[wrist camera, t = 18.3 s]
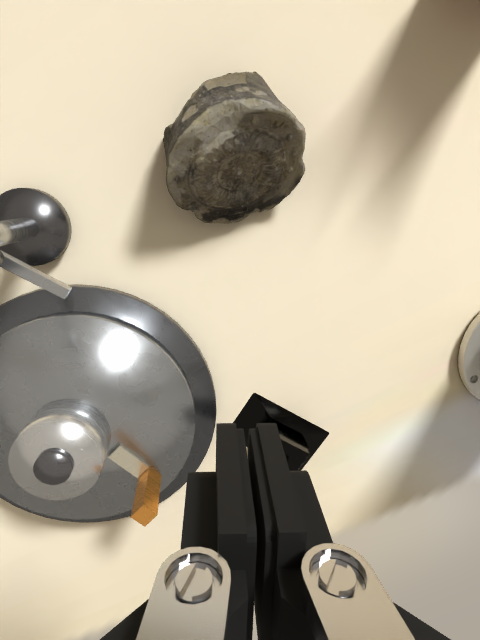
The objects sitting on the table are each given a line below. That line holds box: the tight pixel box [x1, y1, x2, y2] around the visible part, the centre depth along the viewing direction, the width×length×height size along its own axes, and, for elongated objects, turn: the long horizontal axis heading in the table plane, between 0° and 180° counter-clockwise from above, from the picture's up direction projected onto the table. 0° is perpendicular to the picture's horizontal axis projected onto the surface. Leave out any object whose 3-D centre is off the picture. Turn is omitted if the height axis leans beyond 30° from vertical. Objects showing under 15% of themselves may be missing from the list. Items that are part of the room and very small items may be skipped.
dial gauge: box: [0, 188, 72, 299], centre depth 27 cm, size 9×6×14 cm, turn 59°
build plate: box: [233, 393, 329, 471], centre depth 40 cm, size 12×7×5 cm, turn 57°
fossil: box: [163, 72, 305, 223], centre depth 30 cm, size 11×9×10 cm
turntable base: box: [0, 285, 216, 522], centre depth 38 cm, size 24×24×1 cm
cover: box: [8, 399, 111, 500], centre depth 34 cm, size 7×7×5 cm
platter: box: [0, 311, 195, 526], centre depth 34 cm, size 20×20×6 cm
